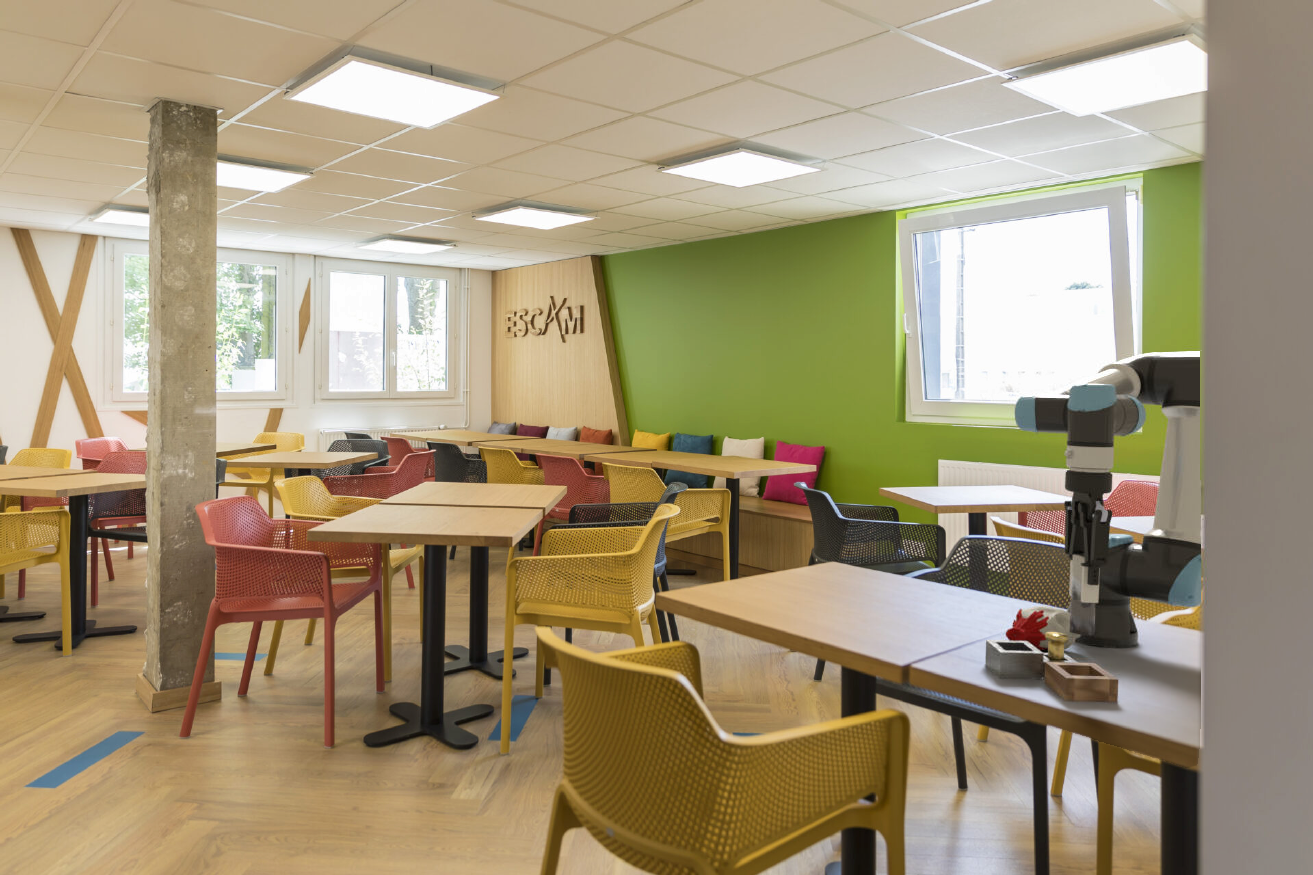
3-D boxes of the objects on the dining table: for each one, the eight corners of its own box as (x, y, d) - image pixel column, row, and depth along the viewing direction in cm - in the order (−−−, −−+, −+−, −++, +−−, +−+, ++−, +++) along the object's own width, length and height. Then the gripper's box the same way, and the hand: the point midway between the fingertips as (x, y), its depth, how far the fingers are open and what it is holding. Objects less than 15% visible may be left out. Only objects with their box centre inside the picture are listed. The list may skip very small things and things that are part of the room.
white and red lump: (1085, 648, 180) (1037, 666, 173) (1039, 634, 190) (992, 650, 183) (1084, 607, 178) (1035, 624, 172) (1038, 595, 188) (990, 610, 182)
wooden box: (1093, 684, 159) (1094, 663, 159) (1117, 701, 150) (1118, 679, 150) (1044, 682, 159) (1045, 661, 159) (1065, 700, 150) (1066, 677, 150)
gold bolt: (1061, 667, 167) (1062, 632, 167) (1070, 673, 163) (1071, 637, 163) (1040, 666, 167) (1041, 631, 167) (1049, 673, 163) (1050, 637, 163)
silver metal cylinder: (1087, 629, 156) (1091, 553, 155) (1098, 635, 152) (1101, 557, 151) (1065, 628, 156) (1068, 553, 155) (1075, 635, 152) (1078, 557, 151)
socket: (1061, 666, 169) (1063, 641, 169) (1080, 680, 161) (1081, 654, 161) (985, 664, 170) (986, 639, 169) (999, 678, 162) (1000, 652, 161)
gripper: (1047, 465, 161) (1042, 587, 162) (1089, 474, 144) (1084, 610, 145) (1088, 466, 161) (1082, 588, 162) (1135, 474, 144) (1128, 611, 145)
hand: (1083, 598), depth 154 cm, fingers closed on silver metal cylinder, 4 cm apart
